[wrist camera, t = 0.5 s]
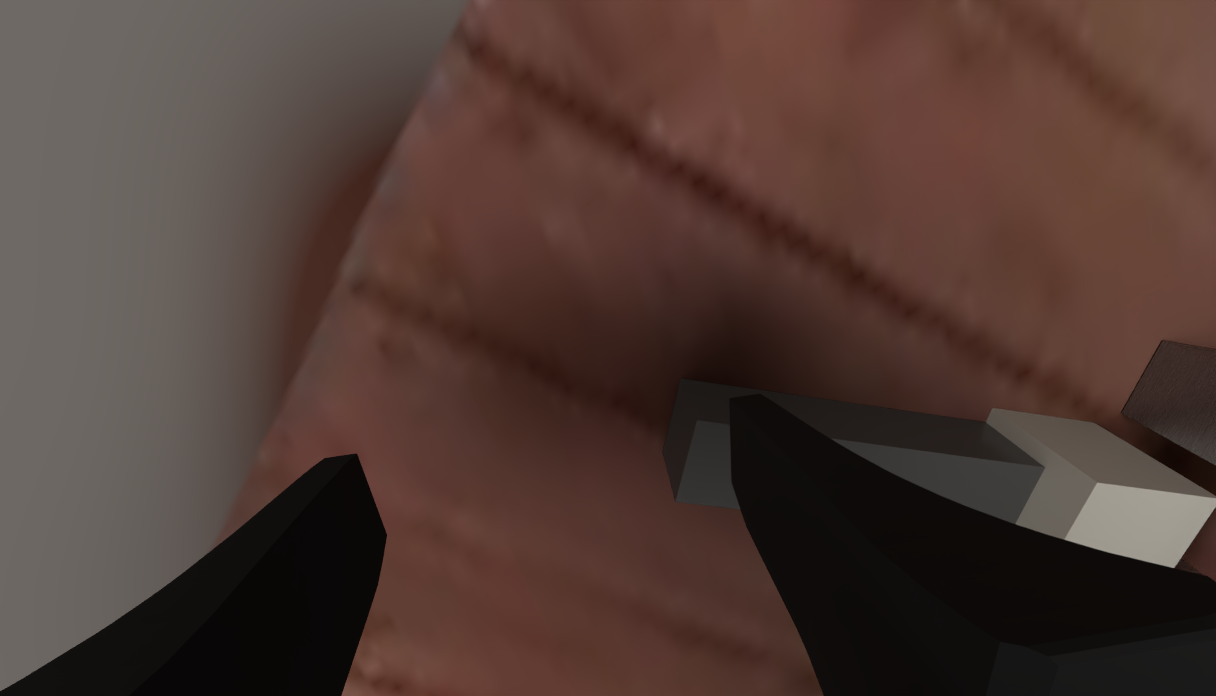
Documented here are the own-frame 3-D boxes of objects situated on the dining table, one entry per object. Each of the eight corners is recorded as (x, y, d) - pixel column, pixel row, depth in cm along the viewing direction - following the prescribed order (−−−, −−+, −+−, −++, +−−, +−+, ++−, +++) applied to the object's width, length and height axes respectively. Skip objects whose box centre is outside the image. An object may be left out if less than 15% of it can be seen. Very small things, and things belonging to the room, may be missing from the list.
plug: (1043, 513, 25) (1149, 604, 20) (659, 465, 23) (679, 553, 19) (1093, 422, 24) (1221, 499, 19) (684, 362, 22) (714, 431, 17)
